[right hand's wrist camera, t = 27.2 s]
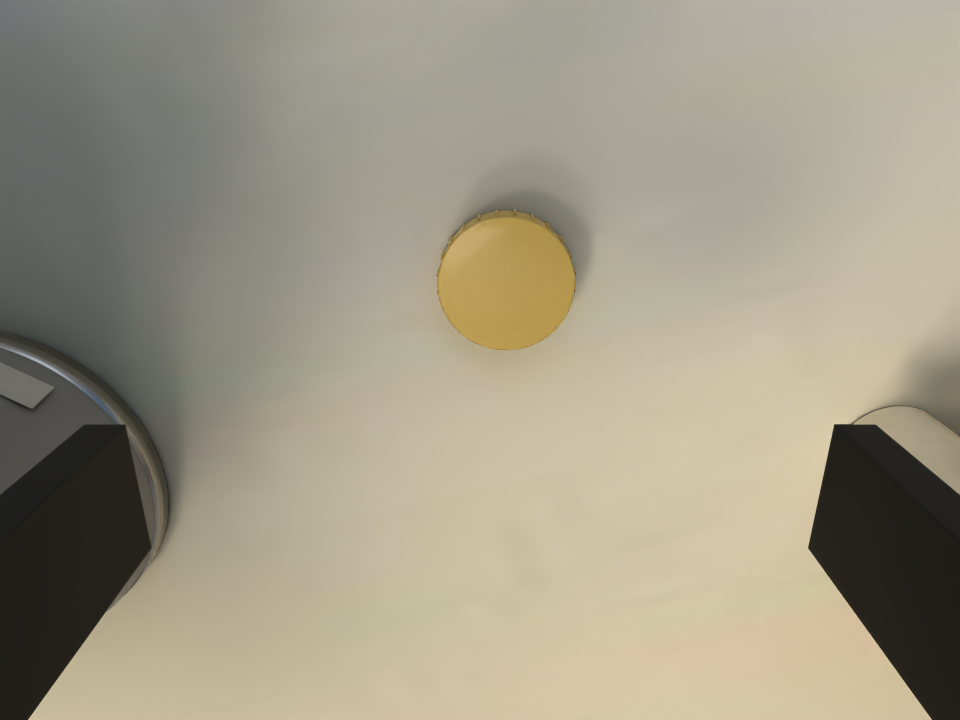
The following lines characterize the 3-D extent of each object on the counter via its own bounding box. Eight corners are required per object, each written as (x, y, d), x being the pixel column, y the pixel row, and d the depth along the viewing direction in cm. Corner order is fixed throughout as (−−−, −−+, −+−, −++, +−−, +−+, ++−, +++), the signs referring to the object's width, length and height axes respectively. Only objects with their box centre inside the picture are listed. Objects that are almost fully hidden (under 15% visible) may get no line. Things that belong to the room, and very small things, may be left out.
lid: (436, 209, 27) (433, 216, 26) (574, 207, 27) (579, 214, 26) (441, 339, 29) (438, 352, 28) (570, 338, 29) (574, 351, 28)
